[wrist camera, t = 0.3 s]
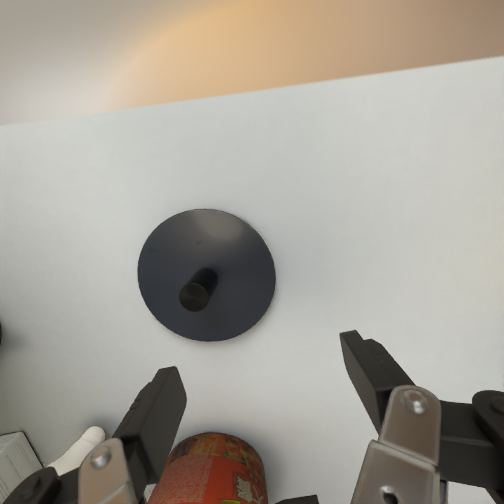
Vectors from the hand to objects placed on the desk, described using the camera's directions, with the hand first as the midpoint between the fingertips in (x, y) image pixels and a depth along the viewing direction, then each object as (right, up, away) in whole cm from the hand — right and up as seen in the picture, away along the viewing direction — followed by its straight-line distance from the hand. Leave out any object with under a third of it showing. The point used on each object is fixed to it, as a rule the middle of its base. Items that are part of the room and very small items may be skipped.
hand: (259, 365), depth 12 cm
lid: (-5, +3, +15) cm, 16 cm away
